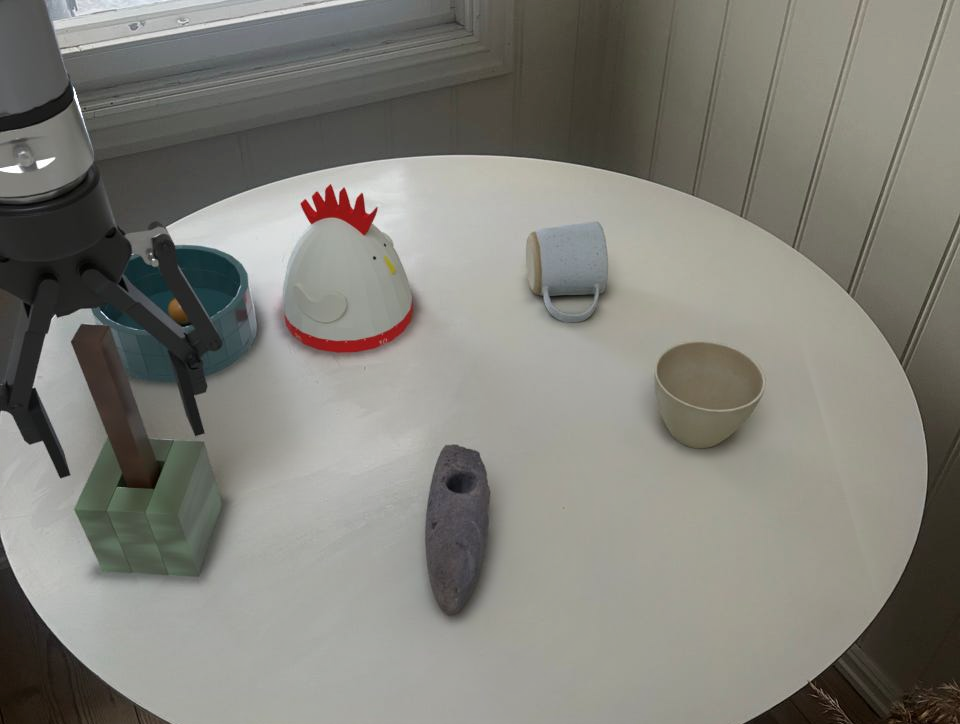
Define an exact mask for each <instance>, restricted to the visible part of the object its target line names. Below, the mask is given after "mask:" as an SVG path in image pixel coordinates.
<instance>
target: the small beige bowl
mask: <svg viewBox="0 0 960 724" xmlns="http://www.w3.org/2000/svg"><path fill="white" fill-rule="evenodd" d="M653 373H654V374H653V377H654V392H655V397H656V403H657V406H658V409H659V412H660V416H661V418H662V420H663V423H665V426H666V427H667V430H668V431H669V433H670V435H672V437H673V438H674V439H675V440H676V441H677V442H678V443H680V444H682V445H684V446H686V447H689V448H693V449H708V448H712V447H714V446H717V445H719V444H720V443H722V442H724V441H725V440H726V439H728V438H729V437H730V436H732V435H733V434H734V433H735V432H737V431H738V429H740V428H741V427H742V425H743V424H744V423H745V422H746V421H747V420H748V418H750V416H751V415H752V413H753V412H754V410H755V409H756V408H757V406H758V404H759V403H760V401H761V399H762V397H763V394H764V392H765V389H766V385H767V381H766V374H765V373H764V370H763V369H762V367H761V365H760V364H759V363H758V362H757V361H756V360H755V359H754V358H753V357H752V356H751V355H749V354H748V353H746V352H745V351H743V350H741V349H739V348H737V347H735V346H732V345H730V344H726V343H722V342H718V341H711V340H688V341H683V342H680V343H675V344H673V345H671V346H670V347H668V348H666V349H664V351H662V352H661V353H660V354H659V356H658V357H657V359H656V361H655V364H654V370H653Z"/></svg>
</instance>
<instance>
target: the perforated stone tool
mask: <svg viewBox="0 0 960 724" xmlns="http://www.w3.org/2000/svg"><path fill="white" fill-rule="evenodd" d="M487 473H488V472H487V470H486V466H485V464H484V462H483V459H482V457H481V453H480V451H478V450H476V449H473V448H467V447H465V446H460V445H459V444H445V445H444V446H443V447H442V449H441V450H440V453H439V455H438V457H437V460H436V462H435V465H434V469H433V473H432V478H431V482H430V487H429V493H428V498H427V505H426V515H425V516H426V517H425V527H424V528H425V530H424V535H425V536H424V541H425V542H424V543H425V556H426V557H425V558H426V567H427V574H428V579H429V584H430V588H431V590H432V594H433V597H434V599H435V601H436V604H437V606H438V607H439V609H440V610H441V611H442V613H444V615H446V616H447V617H450V616H453V615H455V614H457V613H459V611H460V610H461V609H462V608H463V607H464V606H465V604H466V603H467V601H468V600H469V598H470V597H471V594H472V592H473V591H474V589H475V586H476V585H477V582H478V579H479V576H480V573H481V570H482V565H483V561H484V557H485V551H486V545H487V542H488V541H487V540H488V533H489V526H490V522H489V521H490V520H489V519H490V518H489V514H488V511H489V505H490V501H491V489H490V486H489V481H488V474H487Z"/></svg>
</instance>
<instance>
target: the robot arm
mask: <svg viewBox="0 0 960 724" xmlns="http://www.w3.org/2000/svg"><path fill="white" fill-rule="evenodd" d="M50 9H51V8H50V7H49V3H48V0H0V289H1V290H2V291H4V292H6V293H8V294H9V295H11V296H13V297H14V298H16V299H18V300H19V313H18V317H17V322H16V325H15V331H14V335H13V341H12V344H11V348H10V354H9V358H8V363H7V367H6V370H5V376H4V379H1V384H0V412H6V413H8V414H10V416H12V418H13V420H14V422H15V424H16V426H17V428H18V430H19V433H20V434H21V437H22V439H23V441H24V442H26V444H28V445H29V446H30V445H34V444H38V443H40V442H41V443H43V445H44V447H45V449H46V451H47V454H48V455H49V458H50V460H51V462H52V464H53V466H54V469H55V470H56V473H57V474H58V477H59V479H64V478H66V477H69V476H71V471H70V468H69V465H68V461H67V457H66V454H65V450H64V448H63V447H62V444H61V442H60V440H59V438H58V435H57V433H56V431H55V428H54V426H53V424H52V421H51V420H50V418H49V415H48V413H47V411H46V408H45V406H44V404H43V402H42V399H41V396H40V395H39V393H38V390H37V388H36V387H34V383H35V380H36V375H37V371H38V368H39V363H40V360H41V359H40V358H41V354H42V351H43V346H44V342H45V338H46V335H48V334H49V331H50V327H51V323H52V319H53V316H56V318H57V319H58V318H63V317H66V316H70V315H73V313H76V312H77V311H79V310H86V309H89V310H91V308H97V307H101V306H105V302H106V301H108V302H109V303H110V304H111V305H113V306H114V307H115V308H116V309H117V310H119V311H120V312H121V313H123V314H124V313H125V314H127V315H128V316H129V317H130V318H132V319H133V320H134V321H135V322H136V323H138V324H139V325H140V326H141V327H142V328H144V329H145V330H146V331H147V332H148V333H149V334H151V335H152V336H153V337H154V338H155V339H157V340H158V341H159V342H160V343H161V344H163V345H164V346H165V347H166V348H167V349H169V350H168V355H169V358H170V362H171V365H172V368H173V372H174V375H175V379H176V382H175V383H176V385H177V389H178V392H179V395H180V398H181V402H182V405H183V408H184V412H185V415H186V418H187V420H188V422H189V425H190V427H191V430H192V432H193V434H194V437H195V438H197V437H199V436H202V435H205V434H206V432H205V429H204V424H203V421H202V417H201V415H200V410H199V407H198V403H197V400H196V396H197V395H201V394H205V393H207V390H208V383H207V379H206V376H204V372H203V368H202V366H203V361H202V359H201V358H202V356H203V355H204V354H205V353H206V352H208V351H209V350H210V351H217V350H219V349H220V348H221V347H222V345H223V342H222V340H221V338H220V336H219V334H218V332H217V330H216V328H215V326H214V324H213V322H212V320H211V319H210V317H209V315H208V314H207V312H206V310H205V309H204V307H203V305H202V304H201V302H200V300H199V299H198V297H197V295H196V294H195V292H194V290H193V289H192V287H191V285H190V284H189V282H188V281H187V279H186V277H185V276H184V274H183V272H182V271H181V269H180V267H179V266H178V263H177V256H176V249H175V245H176V244H175V242H174V240H173V238H172V236H171V235H170V234H171V233H169V231H168V228H167V227H166V225H165V223H164V222H161V221H153V222H150V224H148V226H147V230H141V231H135V232H128V233H126V232H125V231H124V230H123V229H122V228H121V227H120V226H119V225H118V224H117V223H116V220H115V216H114V213H113V209H112V207H111V204H110V200H109V197H108V194H107V191H106V187H105V184H104V181H103V178H102V175H101V171H100V169H99V167H98V164H97V163H95V162H94V159H95V153H94V148H93V144H92V141H91V139H90V136H89V132H88V129H87V125H86V123H85V119H84V117H83V113H82V109H81V106H80V104H79V100H78V98H77V94H76V91H75V88H74V86H73V83H72V79H71V75H70V74H69V72H68V71H67V69H66V65H65V62H64V58H63V54H62V50H61V47H60V44H59V40H58V36H57V32H56V29H55V25H54V21H53V17H52V15H51V10H50ZM133 254H138V255H140V256H141V257H142V258H143V260H144V262H145V263H146V264H148V265H152V266H153V267H157V266H158V269H159V271H160V273H161V275H162V277H163V279H164V281H165V283H166V284H167V286H168V287H169V289H170V290H171V292H172V294H173V295H174V297H175V298H176V300H177V302H178V303H179V305H180V306H181V308H182V309H183V311H184V313H185V314H186V316H187V317H188V319H189V321H190V322H191V324H192V325H193V327H194V328H195V330H193V331H191V332H190V333H187V332H186V331H185V330H184V329H183V328H181V327H180V326H179V325H178V324H177V323H176V322H175V321H173V320H172V319H171V318H170V317H169V316H168V315H167V314H165V313H164V312H163V311H162V310H161V309H160V308H159V307H157V306H156V305H155V304H154V303H153V302H152V301H151V300H149V299H148V298H147V297H146V296H145V295H144V294H143V293H141V292H140V291H139V290H138V289H137V288H136V287H135V286H133V285H132V284H131V283H130V281H129V280H128V279H127V277H126V276H125V275H124V274H123V273H124V271H125V269H126V267H127V265H128V262H129V260H130V258H131V256H132V255H133Z"/></svg>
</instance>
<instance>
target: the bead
mask: <svg viewBox="0 0 960 724" xmlns="http://www.w3.org/2000/svg"><path fill="white" fill-rule="evenodd" d="M168 313H169V316H170V317H171V319H172V320H173V321H175V322H176V323H178V324H181V325H187V324H190V323H191V322H190V321H189V319H188V317H187V316H186V314H185V313H184V311H183V309H182V308H181V306H180V305H179V303H178V302H177V300H176V298H174V299H172V301H171V302H170V304H169V306H168Z"/></svg>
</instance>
